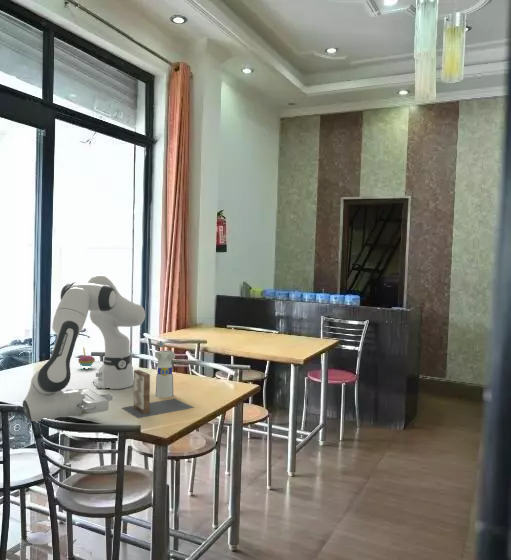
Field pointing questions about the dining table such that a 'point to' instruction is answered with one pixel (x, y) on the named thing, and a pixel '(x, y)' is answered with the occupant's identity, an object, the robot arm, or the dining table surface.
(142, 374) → the board
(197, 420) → the dining table surface
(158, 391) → the grey tall piece
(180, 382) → the dining table surface
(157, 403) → the mat
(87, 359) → the cupcake
